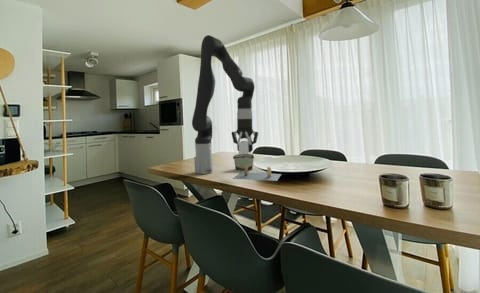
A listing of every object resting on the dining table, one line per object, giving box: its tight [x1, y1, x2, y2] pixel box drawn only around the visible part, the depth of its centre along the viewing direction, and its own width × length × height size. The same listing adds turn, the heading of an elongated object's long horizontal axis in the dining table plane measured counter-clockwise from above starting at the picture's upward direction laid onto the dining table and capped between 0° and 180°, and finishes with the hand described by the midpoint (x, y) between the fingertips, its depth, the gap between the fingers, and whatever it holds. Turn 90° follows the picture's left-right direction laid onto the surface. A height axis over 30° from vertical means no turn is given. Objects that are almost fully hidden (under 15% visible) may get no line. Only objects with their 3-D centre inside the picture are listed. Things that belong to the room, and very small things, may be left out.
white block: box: [238, 140, 252, 154], centre depth 120 cm, size 5×5×6 cm
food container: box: [232, 153, 255, 171], centre depth 139 cm, size 12×6×10 cm, turn 84°
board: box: [232, 166, 282, 182], centre depth 120 cm, size 22×14×6 cm, turn 72°
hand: (245, 151), depth 120 cm, fingers closed on white block, 5 cm apart
